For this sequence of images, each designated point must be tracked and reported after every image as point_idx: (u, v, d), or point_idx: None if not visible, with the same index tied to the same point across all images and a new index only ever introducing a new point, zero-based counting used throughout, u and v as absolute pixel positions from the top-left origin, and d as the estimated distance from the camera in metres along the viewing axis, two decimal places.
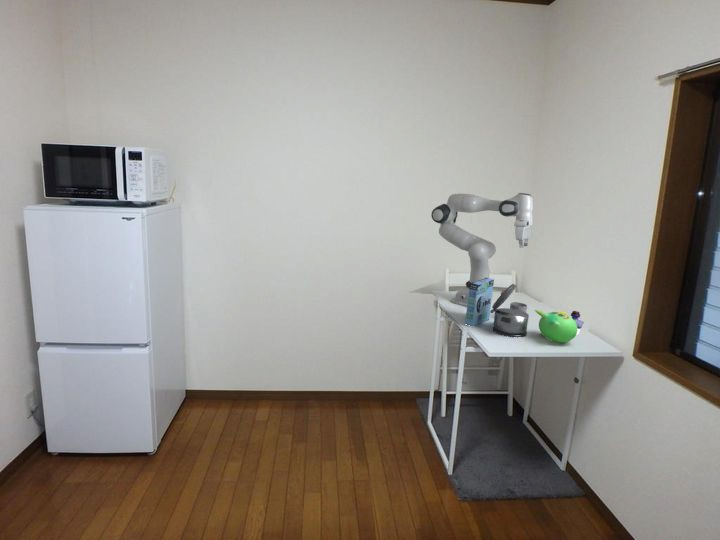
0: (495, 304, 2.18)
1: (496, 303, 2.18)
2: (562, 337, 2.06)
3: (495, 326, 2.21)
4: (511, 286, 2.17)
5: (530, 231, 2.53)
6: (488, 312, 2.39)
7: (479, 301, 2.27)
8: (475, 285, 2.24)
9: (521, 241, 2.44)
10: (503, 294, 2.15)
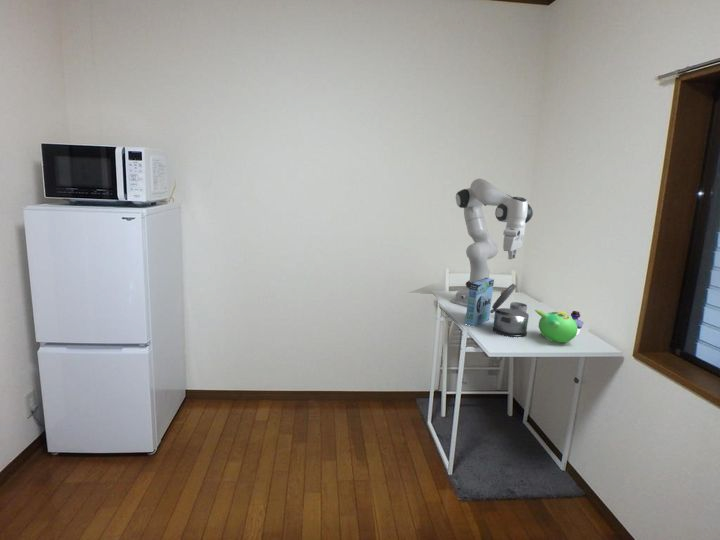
0: (495, 304, 2.18)
1: (496, 303, 2.18)
2: (562, 337, 2.06)
3: (495, 326, 2.21)
4: (511, 286, 2.17)
5: (521, 241, 2.21)
6: (488, 312, 2.39)
7: (479, 301, 2.27)
8: (475, 285, 2.24)
9: (511, 252, 2.14)
10: (503, 294, 2.15)
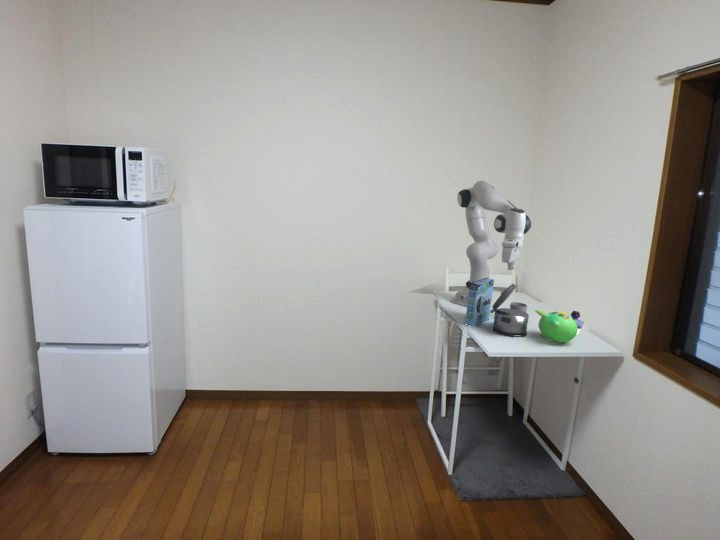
0: (495, 304, 2.18)
1: (496, 303, 2.18)
2: (562, 337, 2.06)
3: (495, 326, 2.21)
4: (511, 286, 2.17)
5: (520, 252, 2.22)
6: (488, 312, 2.39)
7: (479, 301, 2.27)
8: (475, 285, 2.24)
9: (510, 263, 2.16)
10: (503, 294, 2.15)
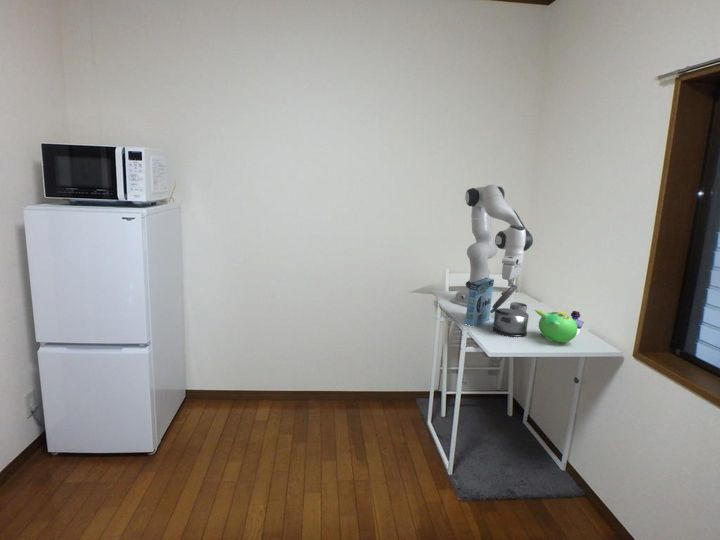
0: (495, 304, 2.18)
1: (496, 303, 2.17)
2: (562, 337, 2.06)
3: (495, 326, 2.21)
4: (512, 287, 2.17)
5: (520, 268, 2.23)
6: (488, 312, 2.39)
7: (479, 301, 2.27)
8: (475, 285, 2.24)
9: (510, 279, 2.17)
10: (504, 295, 2.15)
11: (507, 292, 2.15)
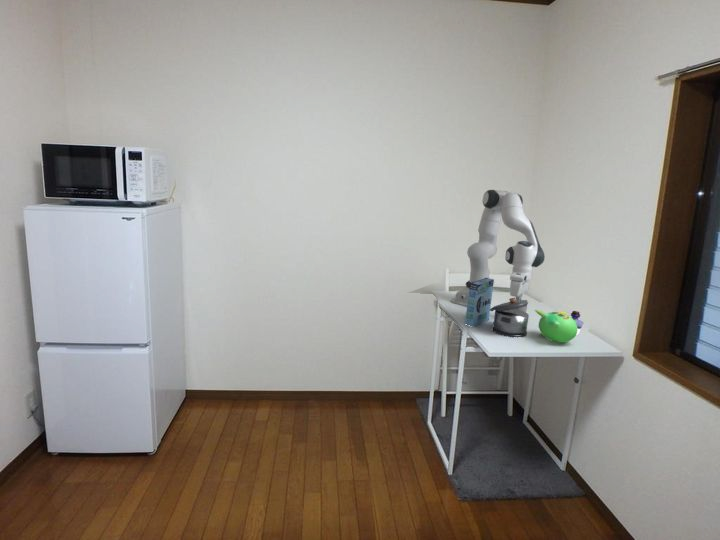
0: (500, 309, 2.17)
1: (501, 309, 2.17)
2: (562, 337, 2.06)
3: (495, 326, 2.21)
4: (524, 304, 2.15)
5: (527, 284, 2.22)
6: (488, 312, 2.39)
7: (479, 301, 2.27)
8: (475, 285, 2.24)
9: (518, 296, 2.16)
10: (513, 307, 2.13)
11: (517, 306, 2.13)
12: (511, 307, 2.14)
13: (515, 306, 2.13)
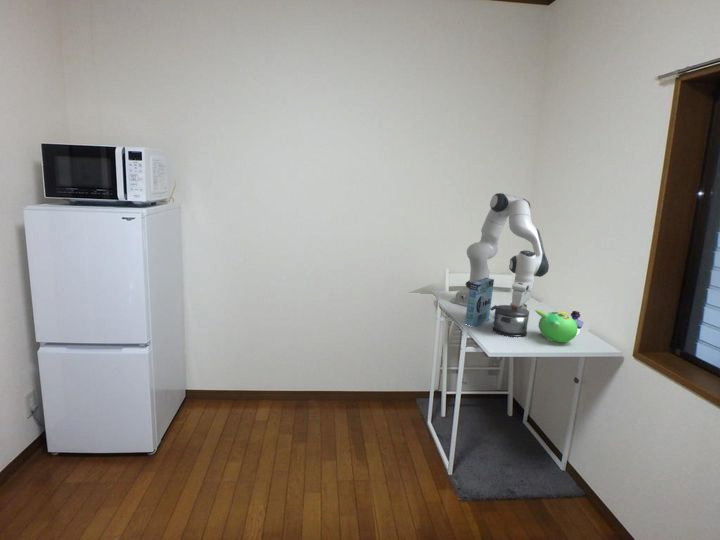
0: (500, 312, 2.17)
1: (502, 313, 2.17)
2: (562, 337, 2.06)
3: (495, 326, 2.21)
4: (525, 315, 2.15)
5: (529, 293, 2.22)
6: (488, 312, 2.39)
7: (479, 301, 2.27)
8: (475, 285, 2.24)
9: (520, 305, 2.16)
10: (514, 315, 2.14)
11: (518, 316, 2.14)
12: (512, 315, 2.14)
13: (516, 315, 2.14)
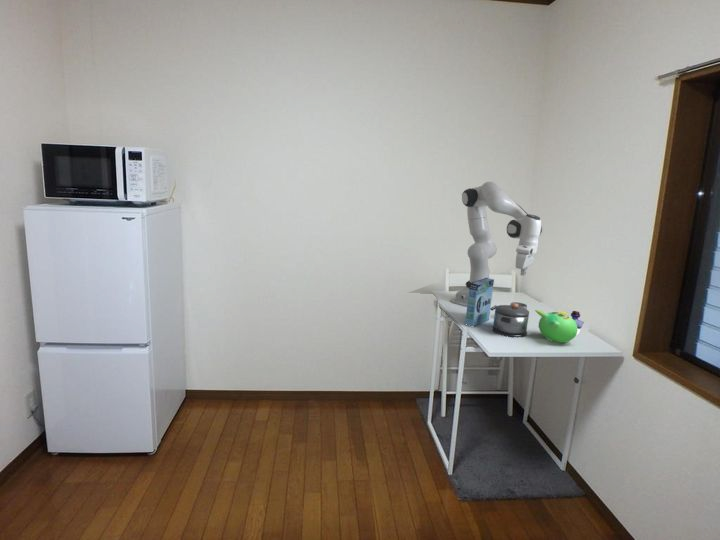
0: (500, 312, 2.17)
1: (502, 313, 2.17)
2: (562, 337, 2.06)
3: (495, 326, 2.21)
4: (525, 315, 2.15)
5: (533, 258, 2.24)
6: (488, 312, 2.39)
7: (479, 301, 2.27)
8: (475, 285, 2.24)
9: (523, 268, 2.18)
10: (514, 315, 2.14)
11: (518, 316, 2.14)
12: (512, 315, 2.14)
13: (516, 315, 2.14)
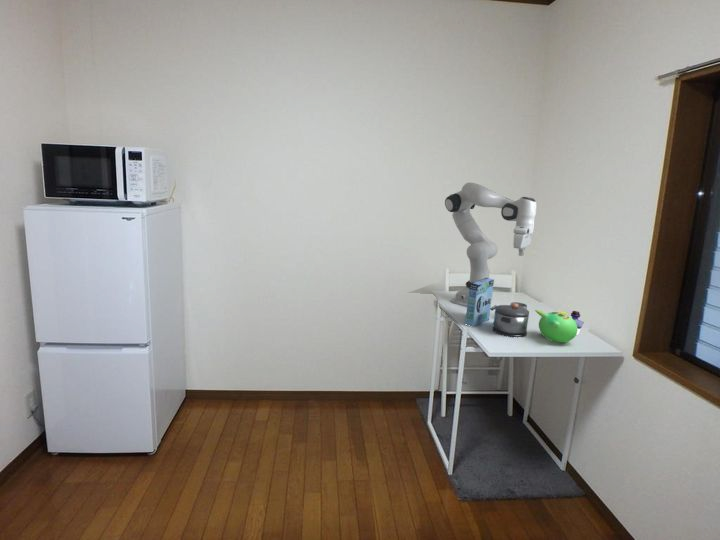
0: (500, 312, 2.17)
1: (502, 313, 2.17)
2: (562, 337, 2.06)
3: (495, 326, 2.21)
4: (525, 315, 2.15)
5: (530, 239, 2.33)
6: (488, 312, 2.39)
7: (478, 301, 2.27)
8: (475, 285, 2.24)
9: (521, 249, 2.27)
10: (514, 315, 2.14)
11: (518, 316, 2.14)
12: (512, 315, 2.14)
13: (516, 315, 2.14)
